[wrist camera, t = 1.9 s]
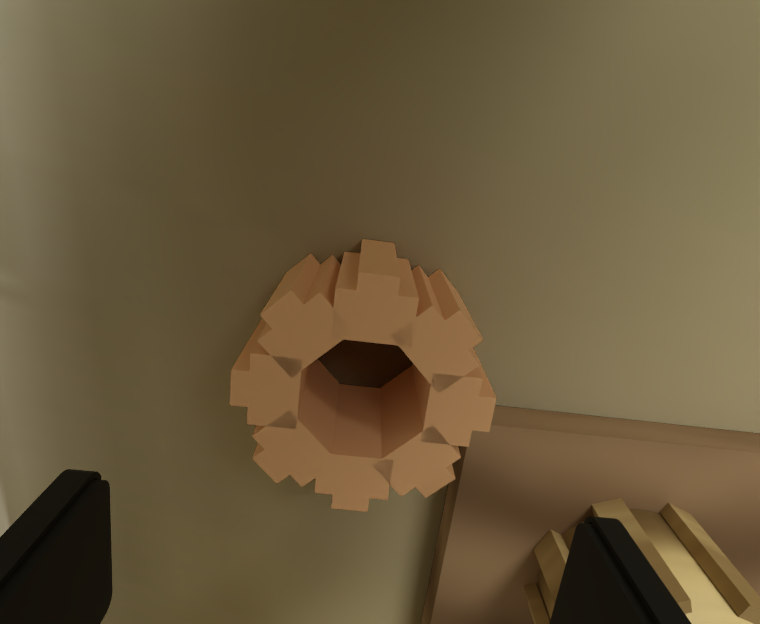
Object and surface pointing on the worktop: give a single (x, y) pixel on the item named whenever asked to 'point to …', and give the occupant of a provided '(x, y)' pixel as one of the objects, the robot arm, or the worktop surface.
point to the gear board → (596, 514)
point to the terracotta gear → (358, 403)
